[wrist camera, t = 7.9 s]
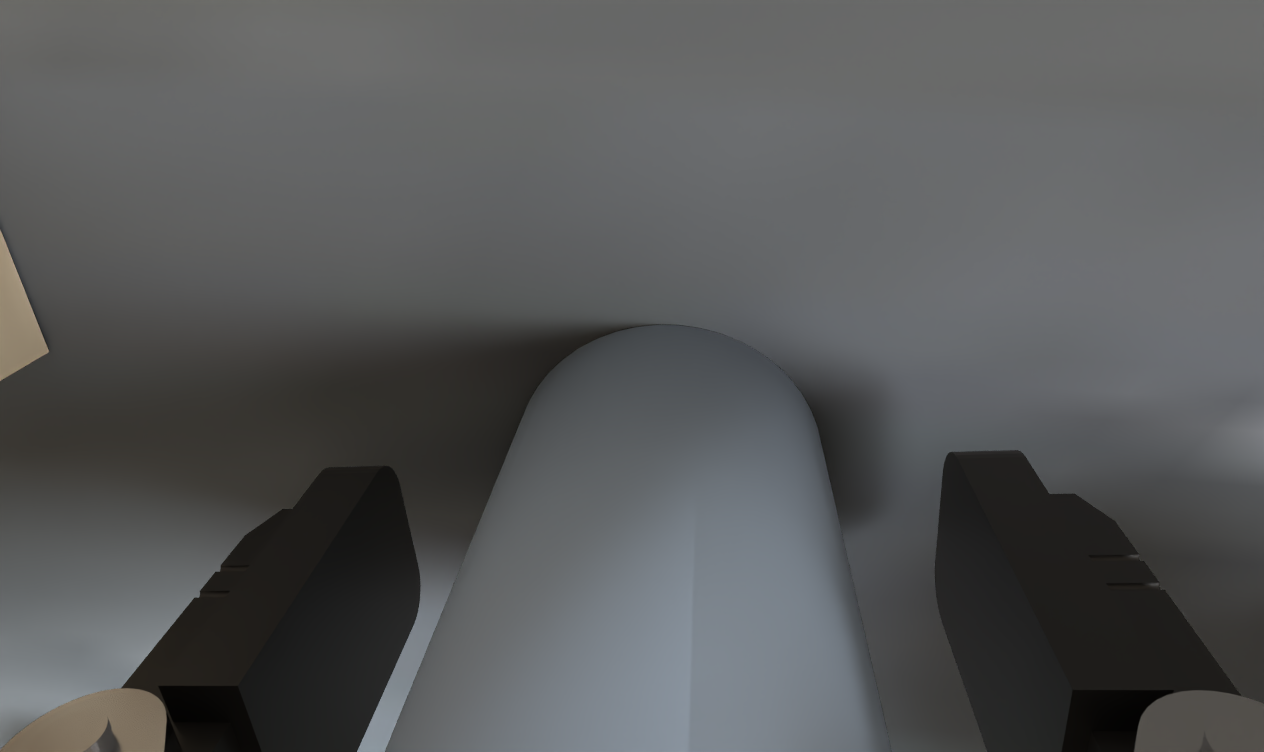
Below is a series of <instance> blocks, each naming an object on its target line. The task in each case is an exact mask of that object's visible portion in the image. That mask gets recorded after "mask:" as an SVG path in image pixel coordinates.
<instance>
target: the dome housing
mask: <svg viewBox="0 0 1264 752" xmlns="http://www.w3.org/2000/svg"><path fill="white" fill-rule="evenodd" d="M48 352H49V350H48V348H47V345H46V343H45V340H44V338H43V335H42V333H41V330H40V328H39V325H38V323H37V320H36V318H35V315H34V313H33V310H32V308H31V305H30V303H29V300H28V298H27V295H26V293H25V290H24V288H23V285H22V283H21V280H20V278H19V275H18V273H17V270H16V268H15V265H14V263H13V260H12V258H11V255H10V253H9V250H8V247H7V245H6V242H5V240H4V237H3V235H2V232H1V230H0V381H1V380H3V379H4V378H6V377H8V376H9V375H11V374H13V373H15V372H16V371H18V370H20V369H21V368H23V367H25V366H26V365H28V364H30V363H31V362H33V361H35V360H36V359H38V358H40V357H42V356H43V355H45V354H47V353H48Z"/></svg>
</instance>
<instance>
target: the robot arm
mask: <svg viewBox="0 0 1264 752" xmlns="http://www.w3.org/2000/svg"><path fill="white" fill-rule="evenodd" d="M935 585H936V595H937V602H938V608H939V613H940V617H941V620H942V623H943V626H944V629H945V632H946V635H947V638H948V640H949V643H950V646H951V649H952V652H953V655H954V658H955V660H956V663H957V666H958V669H959V672H960V675H961V677H962V680H963V683H964V686H965V689H966V692H967V695H968V697H969V700H970V703H971V706H972V709H973V712H974V715H975V717H976V720H977V723H978V726H979V729H980V732H981V735H982V737H983V740H984V743H985V746H986V749H987V752H1264V703H1261V702H1258V701H1255V700H1253V699H1250V698H1246V697H1242V696H1241V695H1240V694H1239V692H1238V691H1237V690H1236V688H1235V687H1234V685H1233V684H1232V683H1231V681H1230V680H1229V678H1228V677H1227V676H1226V674H1225V673H1224V672H1223V670H1222V669H1221V667H1220V666H1219V665H1218V663H1217V662H1216V660H1215V659H1214V658H1213V656H1212V655H1211V654H1210V652H1209V651H1208V649H1207V648H1206V647H1205V645H1204V644H1203V642H1202V641H1201V640H1200V638H1199V637H1198V636H1197V634H1196V633H1195V631H1194V630H1193V629H1192V627H1191V626H1190V624H1189V623H1188V622H1187V620H1186V619H1185V618H1184V616H1183V615H1182V613H1181V612H1180V611H1179V609H1178V608H1177V606H1176V605H1175V604H1174V602H1173V601H1172V600H1171V598H1170V597H1169V595H1168V594H1167V593H1166V591H1165V590H1160V588H1159V582H1158V580H1157V579H1156V577H1155V576H1154V575H1153V573H1152V572H1151V571H1150V569H1149V568H1148V566H1147V565H1146V564H1145V562H1144V561H1140V560H1139V554H1138V553H1137V551H1136V550H1135V548H1134V547H1133V546H1132V544H1131V543H1130V541H1129V540H1128V539H1127V537H1126V536H1125V535H1124V533H1123V532H1122V530H1121V529H1120V528H1119V526H1118V525H1117V523H1116V522H1115V521H1114V520H1112V519H1111V518H1109V517H1108V516H1106V515H1105V514H1103V513H1102V512H1101V511H1099V510H1098V509H1096V508H1095V507H1093V506H1092V505H1090V504H1089V503H1087V502H1086V501H1084V500H1083V499H1081V498H1080V497H1078V496H1077V495H1076V494H1049V493H1048V491H1047V490H1046V488H1045V487H1044V485H1043V484H1042V482H1041V480H1040V479H1039V477H1038V476H1037V474H1036V473H1035V471H1034V469H1033V468H1032V466H1031V465H1030V463H1029V462H1028V460H1027V458H1026V457H1025V456H1024V454H1023V453H1022V452H1020V451H1018V450H1010V451H973V452H950V453H949V454H948V455H947V457H946V459H945V462H944V468H943V477H942V489H941V500H940V512H939V524H938V536H937V548H936V560H935ZM419 601H420V574H419V568H418V563H417V559H416V554H415V550H414V545H413V541H412V537H411V532H410V528H409V523H408V519H407V515H406V510H405V506H404V501H403V497H402V493H401V488H400V484H399V481H398V478H397V475H396V474H395V472H394V470H393V469H392V468H390V467H389V466H364V467H329V468H326V469H324V470H323V471H322V472H321V473H320V474H319V475H318V476H317V478H316V479H315V480H314V482H313V483H312V484H311V486H310V487H309V488H308V490H307V491H306V492H305V494H304V495H303V496H302V497H301V499H300V500H299V501H298V503H297V504H296V505H295V507H294V508H293V509H282V510H281V511H279V512H278V513H277V514H275V515H274V516H272V517H271V518H269V519H268V520H267V521H265V522H264V523H262V524H261V525H259V526H258V527H257V528H255V529H254V530H252V531H251V532H249V533H248V534H247V535H245V536H244V537H243V539H242V540H241V541H240V542H239V544H238V545H237V546H236V547H235V549H234V550H233V551H232V552H231V553H230V555H229V556H228V557H227V558H226V560H225V561H224V562H223V563H222V565H221V570H220V572H215V573H214V574H213V576H212V577H211V578H210V579H209V581H208V582H207V583H206V584H205V586H204V587H203V588H202V589H201V590H200V597H199V598H194V599H193V600H192V602H191V603H190V604H189V605H188V606H187V608H186V609H185V610H184V611H183V613H182V614H181V615H180V616H179V618H178V619H177V620H176V621H175V622H174V624H173V625H172V626H171V627H170V629H169V630H168V631H167V632H166V634H165V635H164V636H163V637H162V639H161V640H160V641H159V642H158V643H157V645H156V646H155V647H154V648H153V650H152V651H151V652H150V653H149V655H148V656H147V657H146V658H145V659H144V661H143V662H142V663H141V664H140V666H139V667H138V668H137V669H136V671H135V672H134V673H133V674H132V676H131V677H130V678H129V679H128V680H127V682H126V683H125V684H124V685H123V687H122V688H121V689H112V690H105V691H100V692H97V693H93V694H89V695H86V696H83V697H80V698H78V699H75V700H72V701H70V702H68V703H66V704H64V705H61V706H59V707H57V708H55V709H53V710H52V711H50V712H48V713H46V714H45V715H43V716H41V717H40V718H38V719H37V720H35V721H34V722H32V723H31V724H29V725H28V726H26V727H25V728H24V729H23V730H21V731H20V732H19V733H18V734H16V735H15V736H14V737H13V738H12V739H11V740H10V741H9V742H8V743H7V744H6V745H5V746H4V747H3V748H2V749H1V750H0V752H357V750H358V748H359V746H360V743H361V741H362V739H363V737H364V735H365V732H366V730H367V728H368V726H369V723H370V721H371V719H372V717H373V714H374V712H375V710H376V708H377V705H378V703H379V701H380V699H381V697H382V694H383V692H384V690H385V688H386V685H387V683H388V681H389V679H390V676H391V674H392V672H393V670H394V668H395V665H396V663H397V661H398V659H399V656H400V654H401V652H402V650H403V647H404V645H405V643H406V641H407V638H408V636H409V634H410V632H411V630H412V627H413V625H414V622H415V620H416V616H417V613H418V608H419Z"/></svg>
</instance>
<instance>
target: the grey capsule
mask: <svg viewBox="0 0 1264 752" xmlns="http://www.w3.org/2000/svg"><path fill="white" fill-rule="evenodd" d="M385 752H892V750H891V746H890V741H889V737H888V732H887V728H886V724H885V719H884V715H883V711H882V706H881V702H880V698H879V693H878V689H877V684H876V680H875V676H874V671H873V667H872V663H871V658H870V654H869V650H868V645H867V641H866V636H865V632H864V628H863V623H862V619H861V615H860V610H859V606H858V602H857V597H856V593H855V588H854V584H853V580H852V575H851V571H850V567H849V562H848V558H847V554H846V549H845V545H844V540H843V536H842V532H841V527H840V523H839V519H838V514H837V510H836V505H835V501H834V497H833V492H832V488H831V484H830V479H829V475H828V471H827V466H826V462H825V457H824V453H823V449H822V444H821V440H820V436H819V431H818V427H817V424H816V422H815V419H814V417H813V414H812V411H811V409H810V407H809V406H808V404H807V402H806V400H805V398H804V397H803V395H802V393H801V392H800V391H799V389H798V388H797V387H796V386H795V384H794V383H793V382H792V380H791V379H790V378H789V377H788V376H787V375H786V374H785V373H784V372H783V371H782V370H781V369H780V368H779V367H778V366H777V365H776V364H775V363H773V362H772V361H771V360H769V359H768V358H767V357H765V356H764V355H762V354H761V353H760V352H758V351H756V350H755V349H753V348H751V347H749V346H748V345H746V344H744V343H742V342H740V341H738V340H735V339H733V338H730V337H728V336H725V335H723V334H720V333H716V332H713V331H709V330H705V329H701V328H695V327H688V326H681V325H651V326H642V327H634V328H630V329H626V330H621V331H617V332H614V333H611V334H608V335H606V336H603V337H600V338H598V339H595V340H593V341H591V342H590V343H588V344H586V345H584V346H582V347H580V348H578V349H577V350H575V351H574V352H573V353H571V354H570V355H568V356H567V357H566V358H564V359H563V360H562V361H561V362H560V363H558V364H557V365H556V366H555V367H554V368H553V369H552V370H551V371H550V372H549V373H548V374H547V376H546V377H545V378H544V379H543V381H542V382H541V383H540V384H539V386H538V387H537V389H536V390H535V392H534V394H533V395H532V397H531V399H530V401H529V402H528V405H527V407H526V410H525V412H524V414H523V417H522V419H521V422H520V424H519V427H518V429H517V431H516V434H515V436H514V439H513V441H512V444H511V446H510V448H509V451H508V453H507V456H506V458H505V461H504V463H503V465H502V468H501V470H500V473H499V475H498V478H497V480H496V483H495V485H494V487H493V490H492V492H491V495H490V497H489V500H488V502H487V504H486V507H485V509H484V512H483V514H482V517H481V519H480V521H479V524H478V526H477V529H476V531H475V534H474V536H473V538H472V541H471V543H470V546H469V548H468V551H467V553H466V555H465V558H464V560H463V563H462V565H461V568H460V570H459V573H458V575H457V577H456V580H455V582H454V585H453V587H452V590H451V592H450V594H449V597H448V599H447V602H446V604H445V607H444V609H443V611H442V614H441V616H440V619H439V621H438V624H437V626H436V628H435V631H434V633H433V636H432V638H431V641H430V643H429V645H428V648H427V650H426V653H425V655H424V658H423V660H422V663H421V665H420V667H419V670H418V672H417V675H416V677H415V680H414V682H413V684H412V687H411V689H410V692H409V694H408V697H407V699H406V701H405V704H404V706H403V709H402V711H401V714H400V716H399V718H398V721H397V723H396V726H395V728H394V731H393V733H392V735H391V738H390V740H389V743H388V745H387V748H386V750H385Z"/></svg>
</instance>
